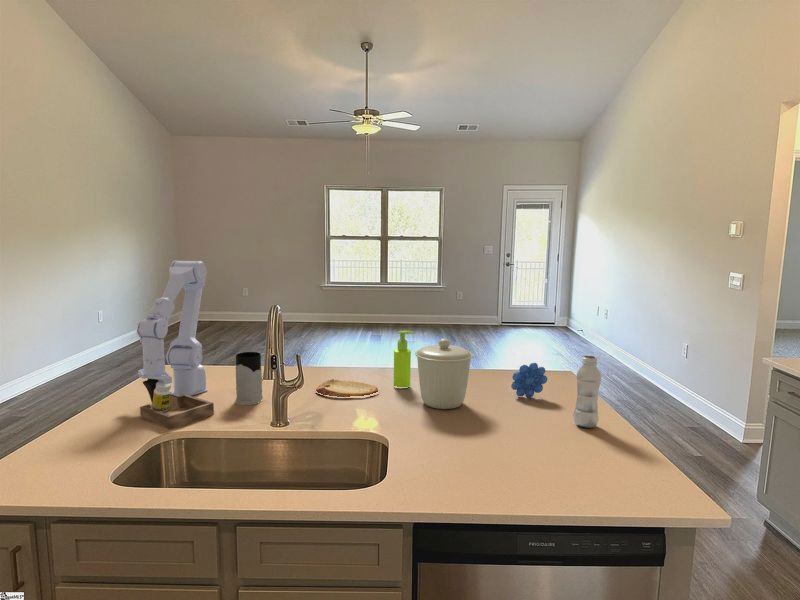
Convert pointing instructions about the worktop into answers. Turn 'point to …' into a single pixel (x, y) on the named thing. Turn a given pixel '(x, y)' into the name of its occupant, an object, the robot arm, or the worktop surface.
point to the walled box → (171, 421)
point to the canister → (443, 374)
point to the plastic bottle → (587, 393)
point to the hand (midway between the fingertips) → (156, 402)
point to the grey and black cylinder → (248, 378)
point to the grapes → (529, 380)
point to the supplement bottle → (161, 397)
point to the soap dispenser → (402, 362)
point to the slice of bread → (345, 388)
